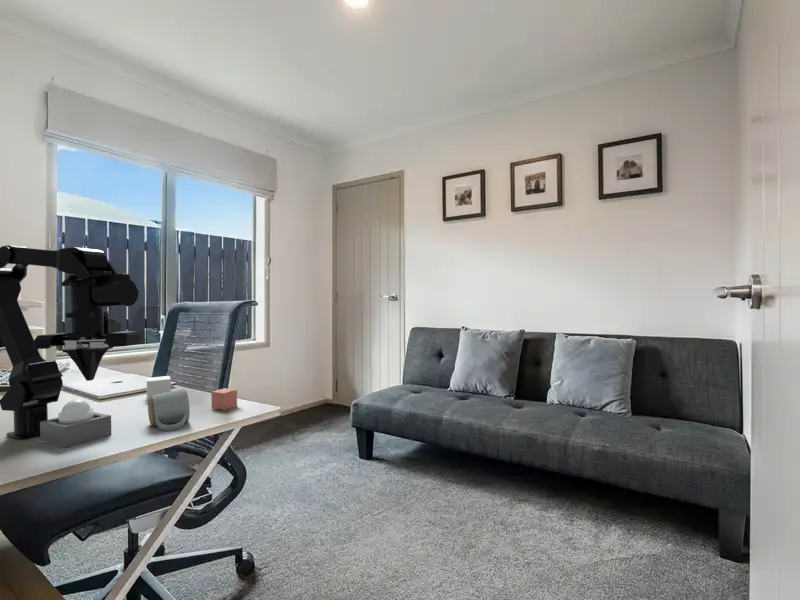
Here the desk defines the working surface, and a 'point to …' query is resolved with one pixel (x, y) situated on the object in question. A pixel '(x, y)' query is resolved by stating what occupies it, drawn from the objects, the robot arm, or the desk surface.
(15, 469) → the desk surface
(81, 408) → the dome
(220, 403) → the salmon red block
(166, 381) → the white cube
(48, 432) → the dome base
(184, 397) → the ceramic mug
